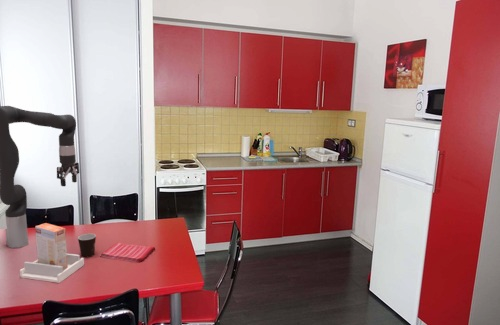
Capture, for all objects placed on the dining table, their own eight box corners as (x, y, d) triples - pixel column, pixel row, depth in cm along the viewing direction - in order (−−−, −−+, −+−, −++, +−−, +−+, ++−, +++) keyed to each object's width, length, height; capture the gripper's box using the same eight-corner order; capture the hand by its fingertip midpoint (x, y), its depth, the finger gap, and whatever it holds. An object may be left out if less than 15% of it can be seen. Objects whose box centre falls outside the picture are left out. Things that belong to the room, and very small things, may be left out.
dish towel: (141, 264, 187) (141, 259, 186) (99, 258, 191) (98, 253, 191) (156, 250, 203) (156, 245, 203) (117, 245, 208) (117, 240, 207)
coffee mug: (90, 259, 189) (89, 240, 187) (75, 257, 190) (74, 238, 188) (103, 249, 200) (102, 232, 198) (89, 248, 202) (88, 230, 200)
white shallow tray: (20, 277, 169) (19, 264, 168) (48, 260, 186) (47, 248, 185) (59, 282, 165) (58, 270, 164) (84, 264, 183) (83, 253, 181)
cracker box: (68, 269, 175) (66, 227, 171) (57, 274, 170) (54, 231, 166) (49, 262, 181) (46, 222, 177) (37, 267, 176) (34, 225, 172)
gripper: (70, 151, 198) (71, 180, 201) (51, 155, 184) (53, 186, 188) (82, 152, 197) (84, 181, 200) (64, 156, 183) (66, 188, 186)
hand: (69, 184), depth 194 cm, fingers open, 8 cm apart
